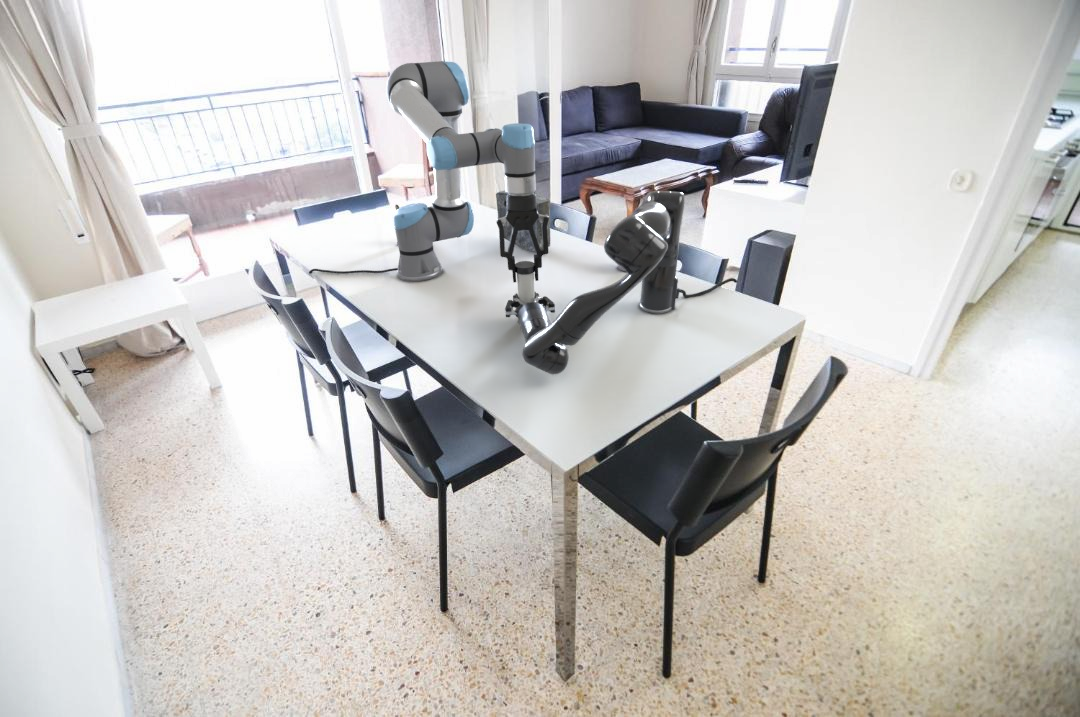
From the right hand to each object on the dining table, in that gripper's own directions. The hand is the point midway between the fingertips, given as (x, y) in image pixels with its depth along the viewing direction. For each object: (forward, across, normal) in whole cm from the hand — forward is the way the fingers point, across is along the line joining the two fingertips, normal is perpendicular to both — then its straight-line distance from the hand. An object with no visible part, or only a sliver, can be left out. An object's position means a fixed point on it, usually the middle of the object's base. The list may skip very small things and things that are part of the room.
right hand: (525, 295), depth 141 cm
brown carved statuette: (+79, +37, +7) cm, 88 cm away
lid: (-3, 0, -10) cm, 10 cm away
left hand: (-3, 0, -6) cm, 7 cm away
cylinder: (-3, 0, +7) cm, 7 cm away
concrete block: (+60, -9, +7) cm, 61 cm away
